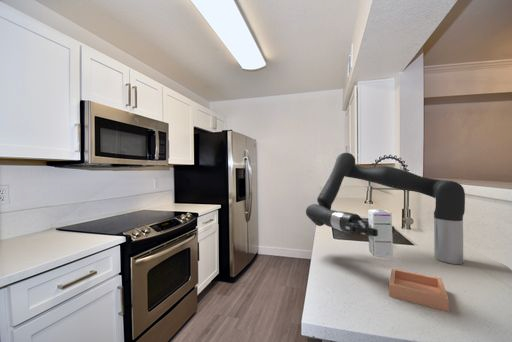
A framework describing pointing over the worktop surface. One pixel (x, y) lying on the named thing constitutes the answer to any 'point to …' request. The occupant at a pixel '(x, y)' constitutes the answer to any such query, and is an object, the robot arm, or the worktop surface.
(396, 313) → the worktop surface
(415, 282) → the dish
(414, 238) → the worktop surface
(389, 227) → the syrup box
